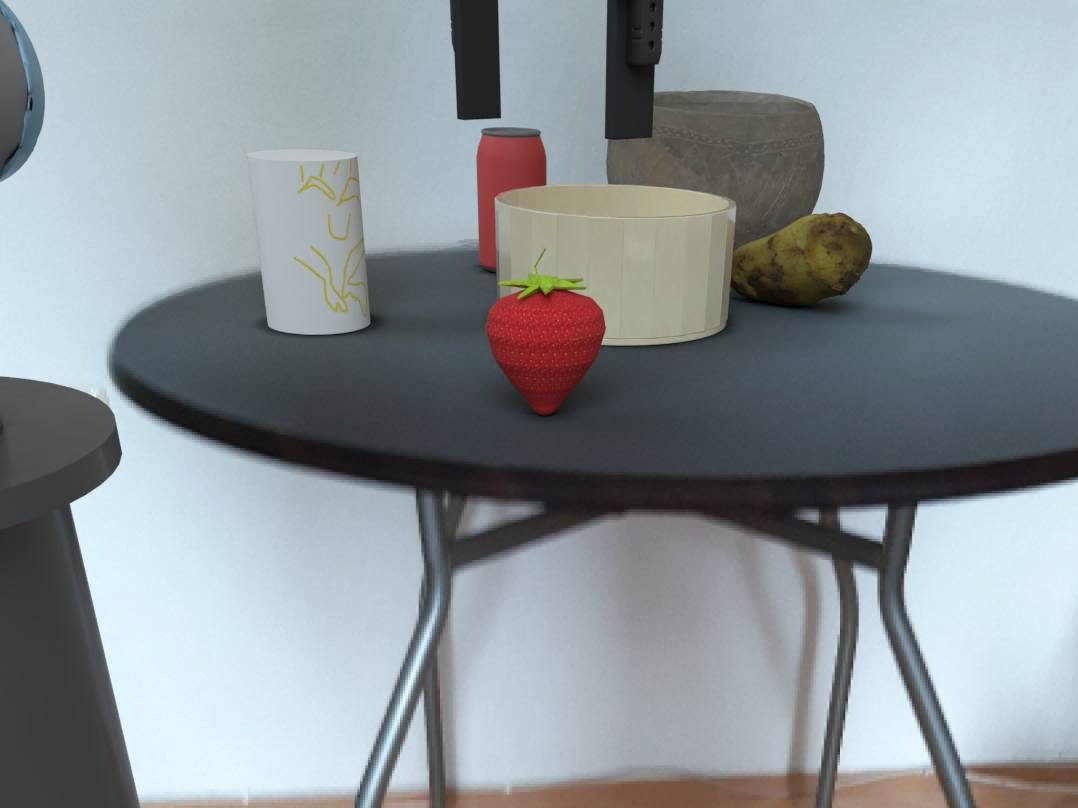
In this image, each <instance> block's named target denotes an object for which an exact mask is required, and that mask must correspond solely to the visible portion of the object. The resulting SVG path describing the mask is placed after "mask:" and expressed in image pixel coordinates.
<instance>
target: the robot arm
mask: <svg viewBox="0 0 1078 808" xmlns="http://www.w3.org/2000/svg"><path fill="white" fill-rule="evenodd" d="M664 1H665V0H606V41H605V46H606V47H605V95H604V97H605V99H604V100H605V101H604V102H605V103H604V107H605V109H604V139H605V140H608V139H610V140H622V139H638V138H652V132H653V104H654V92H655V75H656V72H655V71H656V65H660V60H661V57H662V52H663V51H662V50H663V40H662V39H663V29H664V28H663V27H664ZM449 13H450V14H449V15H450V29H451V30H450V33H451V34H450V35H451V36H450V37H451V38H450V39H451V45H452V50H453V53H454V54H453V56H454V76H455V78H454V79H455V98H456V99H455V100H456V101H455V102H456V119H457V120H461V121H475V120H495V119H497V120H498V119H499V120H501V119H502V101H501V100H502V99H501V97H502V96H501V94H502V93H501V61H500V60H501V58H500V57H501V56H500V55H501V54H500V23H499V22H500V20H499V14H500V13H499V0H449ZM45 111H46V91H45V83H44V77H43V72H42V67H41V64H40V61H39V57H38V55H37V51H36V49H35V47H34V44H33V42H32V40H31V38H30V36H29V34H28V32H27V30H26V29H25V27H24V26H23V24H22V22H21V21H20V20H19V18H18V17H17V15H16V14H15V12H14V11H13V10H12V9H11V8H10V6H9V5H8V4H7V3H6V2H5V0H0V183H2V182H4V181H6V180H7V179H9V178H10V177H12V176H14V175H15V174H16V173H17V172H18V171H19V170H21V168H22V167H23V166H24V165H25V164H26V163H27V161H29V158H30V157H31V155H32V154H33V152H34V150H35V148H36V146H37V143H38V139H39V137H40V135H41V132H42V129H43V125H44V120H45V119H44V118H45ZM2 426H3V424H2V420H1V416H0V431H1V429H2Z"/></svg>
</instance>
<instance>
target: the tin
mask: <svg viewBox="0 0 1078 808" xmlns="http://www.w3.org/2000/svg"><path fill="white" fill-rule="evenodd" d="M735 218H736V202H735V201H733V200H731V199H729V198H727V197H723V196H719V195H716V194H711V193H706V192H700V191H694V190H688V189H679V188H670V187H658V186H644V185H623V184H608V183H570V184H569V183H568V184H567V183H566V184H547V185H546V186H533V187H526V188H519V189H513V190H509V191H506V192H502V193H500V194H498V195H497V196H496V197H495V229H496V272H497V273H496V302H497V301H498V300H499V299H500V298H502V297H505V296H508V295H511V294H514V293H516V292H519V291H522V290H524V289H526V288H519V287H510V286H504V285H499V282H504V281H514V280H523V279H529V278H528V273H529V274H535V275H536V272H535V269H534V266H535V264H536V262H537V260H538V259H539V257H540V255H541V253H542V252H543V250H544V248H546V250H545V252H544V254H543V255H542V257H541V259H540V260H539V262H538V264H537V266H536V269H537V272H538V275H541V276H553V277H558V279H578V278H583V281H581V282H577V283H574V284H577V285H580V286H583V287H586V289H582V290H569V291H572V292H575V293H578V294H581V295H584V296H588V297H590V298H592V299H593V300H594V301H595V302H596V303H597V304H598V305H599V307H600V308H601V309H602V310H603V314H604V320H605V326H606V331H605V334H604V337H603V340H602V343H601V346H616V347H617V346H619V347H620V346H623V347H624V346H625V347H626V346H627V347H628V346H637V347H638V346H656V345H668V344H670V345H671V344H678V343H684V342H690V341H691V342H692V341H695V340H700V339H704V338H708V337H710V336H713V335H716V334H718V333H719V332H721V331H723V330H724V329H725V328H726V326H727V323H728V316H729V305H730V293H731V286H730V281H731V268H732V256H733V243H734V230H735Z"/></svg>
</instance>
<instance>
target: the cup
mask: <svg viewBox="0 0 1078 808" xmlns="http://www.w3.org/2000/svg"><path fill="white" fill-rule="evenodd" d="M358 159H359V157H358V154H356V153H354V152H349V151H345V150H344V151H343V150H332V149H311V148H310V149H309V148H308V149H307V148H286V149H269V150H267V149H266V150H259V151H252V152H248V153H247V154H246V161H247V169H248V177H249V185H250V192H251V201H252V208H253V217H254V224H255V233H256V234H255V235H256V241H257V249H258V257H259V266H260V272H261V280H262V289H263V297H264V305H265V312H266V322H267V326H268V327H269V328H270V329H272V330H274V331H278V332H281V333H286V334H295V335H312V336H313V335H317V336H319V335H321V336H322V335H335V334H345V333H351V332H355V331H360V330H362V329H365V328H367V327H368V326H370V325H371V313H370V311H371V310H370V299H369V287H368V286H369V285H368V275H367V274H368V273H367V261H366V249H365V237H364V236H365V234H364V223H363V213H362V212H363V210H362V199H361V197H362V196H361V185H360V173H359V160H358Z"/></svg>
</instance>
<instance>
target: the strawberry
mask: <svg viewBox="0 0 1078 808" xmlns="http://www.w3.org/2000/svg"><path fill="white" fill-rule="evenodd" d="M545 250H546V248H544V250H543V252H542V253H541V255H540V257H539V259H538V260H537V262H536V264H535V266H534V269H535V272H536V275H535V274H529V273H528V278H529V279H523V280H514V281H504V282H499V285H504V286H510V287H519V288H526V289H524V290H522V291H519V292H516V293H514V294H511V295H508V296H505V297H502V298H500V299H499V300H498V301H497V300H496V302H495V303H494V304H493V305H492V306H491V308H489V310H488V311H487V313H488V314H487V318H486V319H487V320H486V322H485V323H486V325H485V333H486V337H487V340H488V343H489V348H490V351H491V354H492V357H493V359H494V360H495V363H496V364H497V366H498V367H499V368H500V370H501V371H502V373H503V374H504V376H505V377H506V379H507V380H508V382H509V383H510V384H511V386H512V387H513V388H514V390H515V391H516V392H518V394H520V396H521V397H522V398H523V399H524V401H526V403H527V404H528V405H529V408H530V409H531V410H532V411H533V412H534V413H536V414H538V415H540V416H545V417H547V416H549V415H552V414H553V413H555V412H556V411H557V410H558V409H559V408H560V407H561V405H562V403H563V402H564V401H565V399H566V398H567V397H568V396H569V395H570V394H571V393H572V392H573V390H574V389H575V388H576V387H577V386H578V385H579V384H580V382H581V381H582V380H583V378H584V377H585V376H586V375H587V372H588V371H589V370H590V369H591V367H592V366H593V364H594V363H595V362H596V360H597V359H598V356H599V353H600V350H601V347H602V345H601V343H602V340H603V337H604V334H605V331H606V326H605V320H604V314H603V310H602V309H601V308H600V307H599V305H598V304H597V303H596V302H595V301H594V300H593V299H592V298H590V297H588V296H584V295H581V294H578V293H575V292H572V291H569V290H582V289H586V287H583V286H580V285H577V284H574V283H577V282H581V281H583V278H578V279H558V277H553V276H541V275H538V272H537V269H536V266H537V264H538V262H539V260H540V259H541V257H542V255H543V254H544V252H545Z"/></svg>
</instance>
